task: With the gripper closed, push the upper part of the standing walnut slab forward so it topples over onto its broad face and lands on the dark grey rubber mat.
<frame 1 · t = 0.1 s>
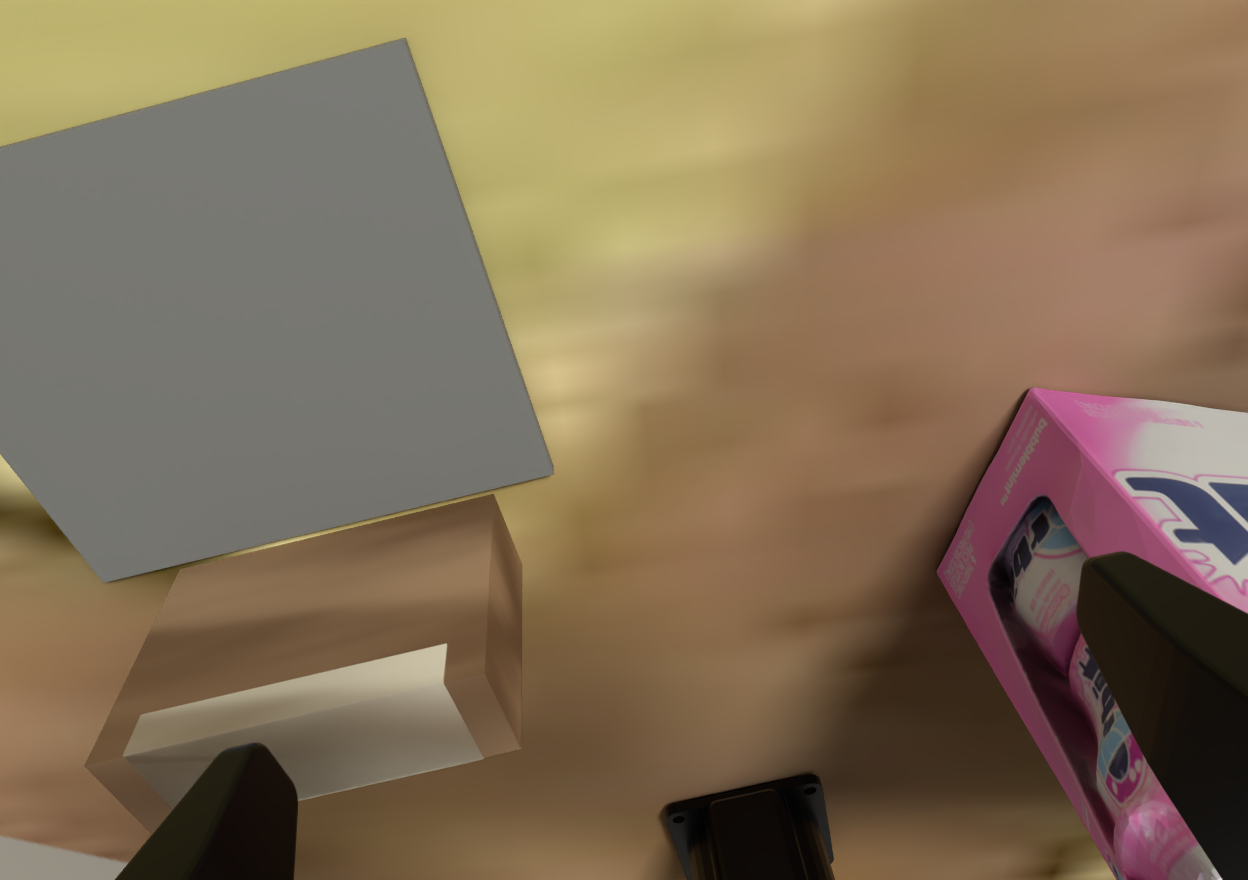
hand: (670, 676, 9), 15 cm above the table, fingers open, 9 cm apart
mat: (232, 350, 22), on the table
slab: (355, 565, 27), on the table
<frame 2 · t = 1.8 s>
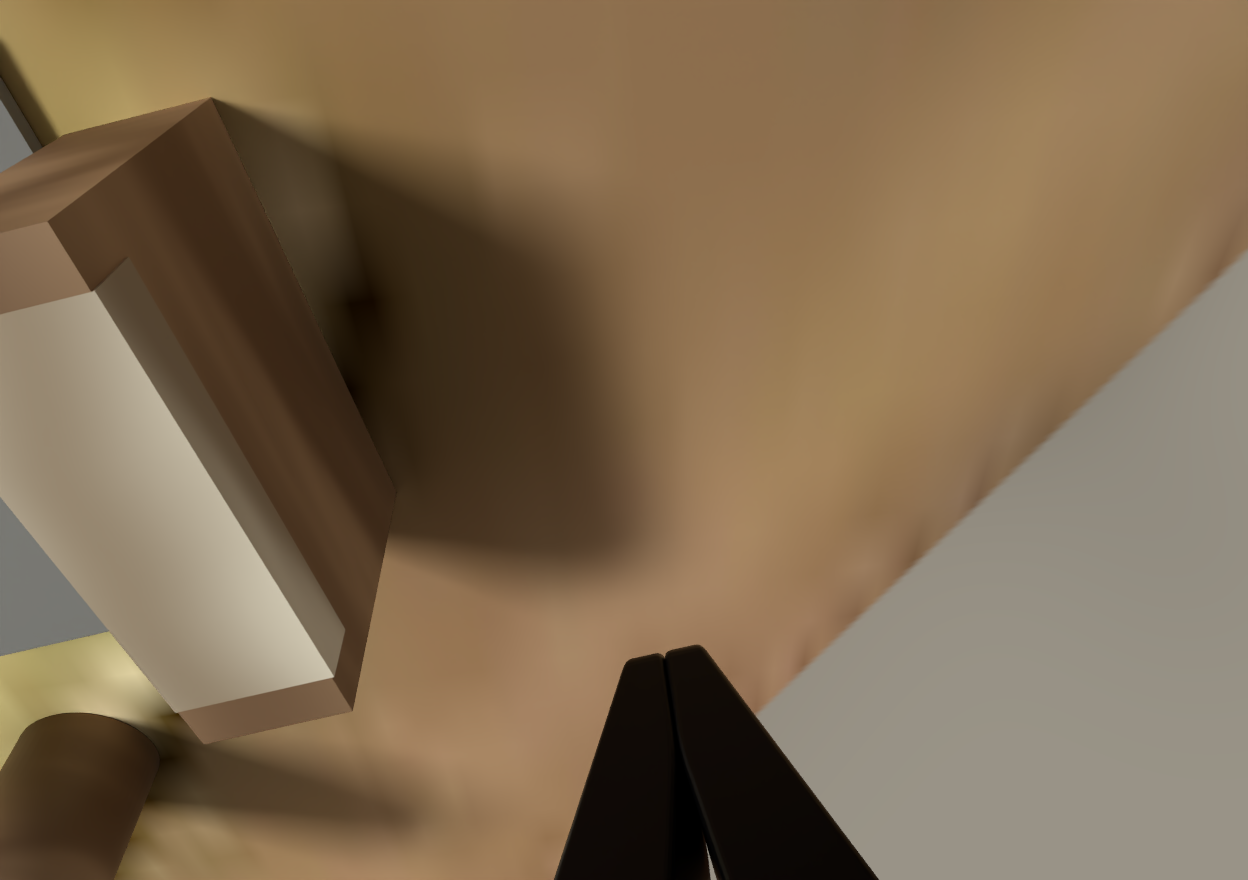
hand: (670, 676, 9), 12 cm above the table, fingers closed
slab: (254, 337, 20), on the table
pepper mill: (90, 755, 27), on the table
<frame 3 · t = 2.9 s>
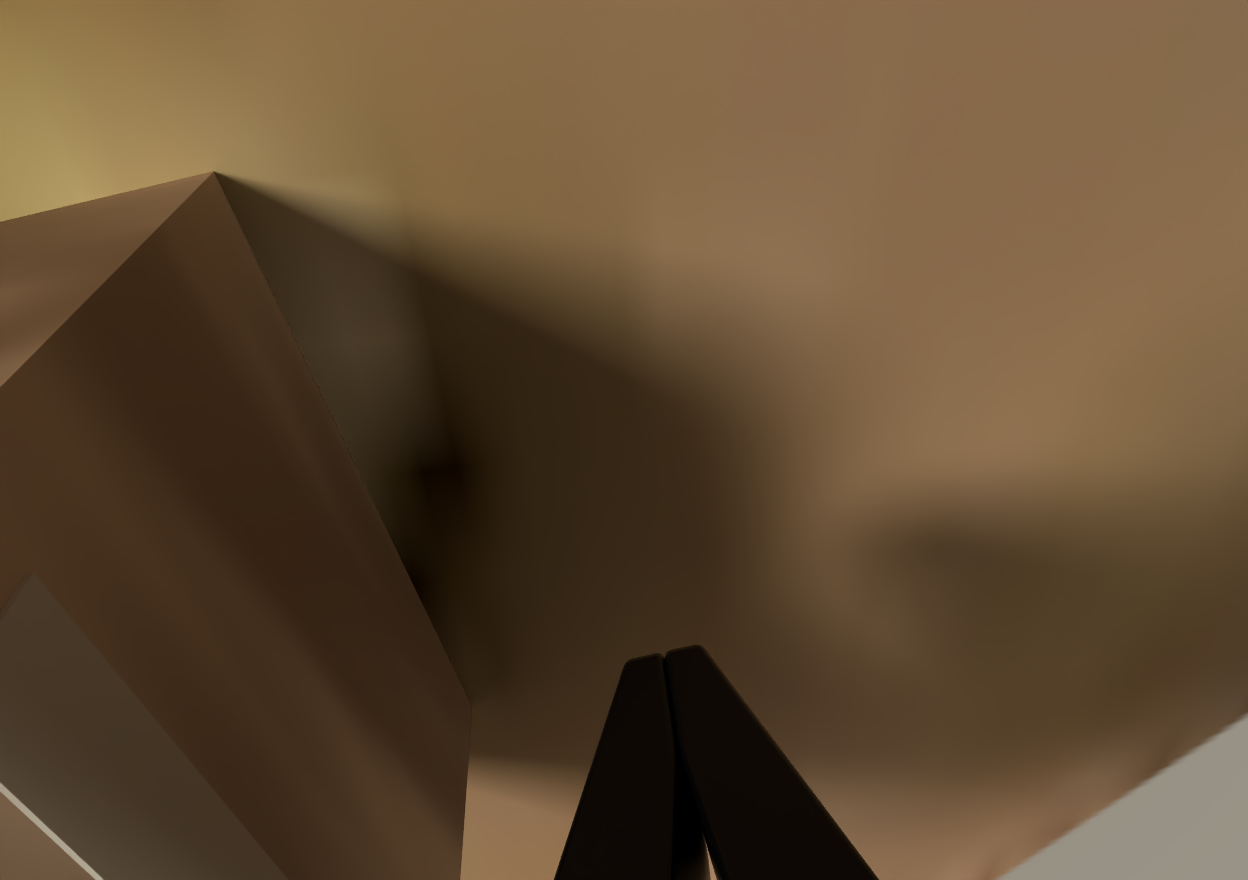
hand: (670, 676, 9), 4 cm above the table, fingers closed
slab: (276, 517, 13), on the table
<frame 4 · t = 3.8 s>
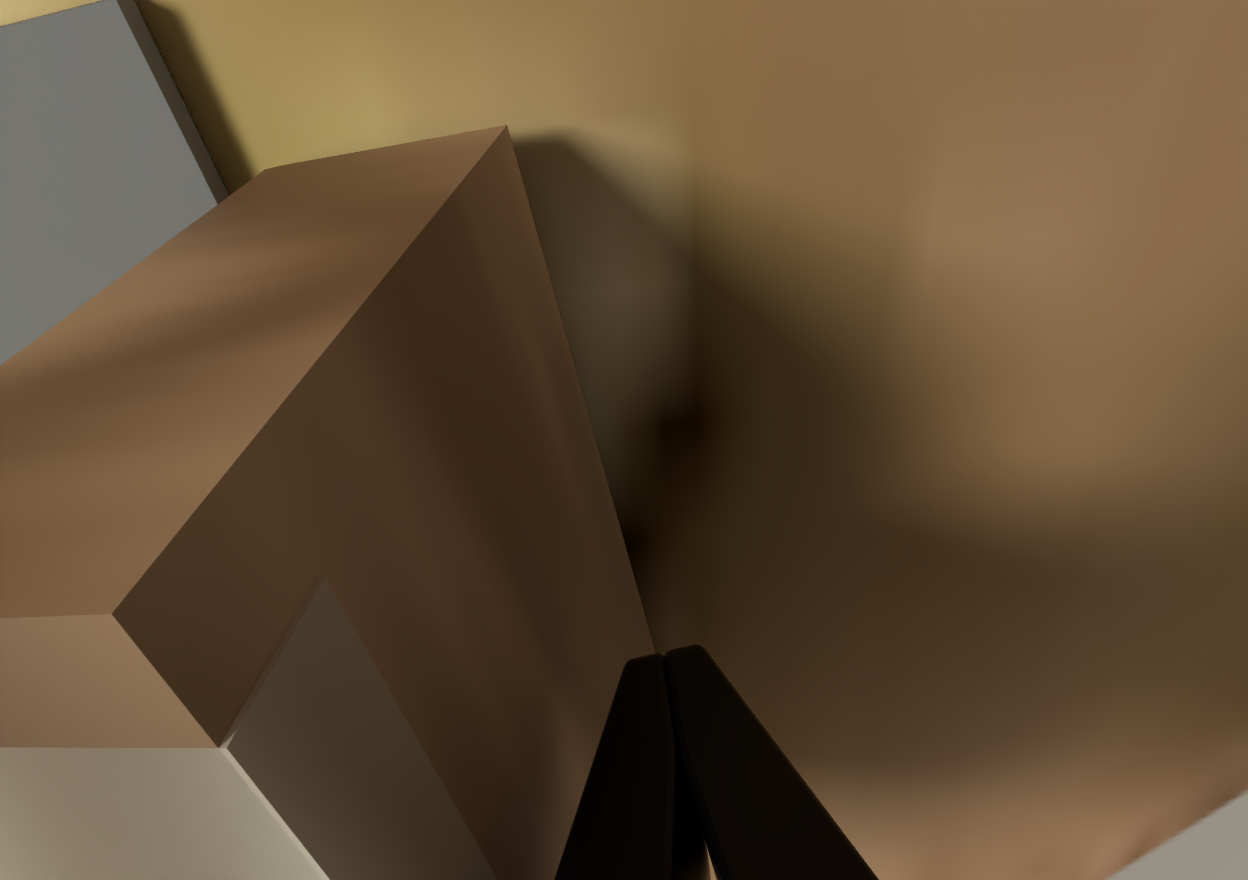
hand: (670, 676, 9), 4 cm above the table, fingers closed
mat: (0, 591, 13), on the table
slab: (507, 487, 13), on the table, tilted 14°
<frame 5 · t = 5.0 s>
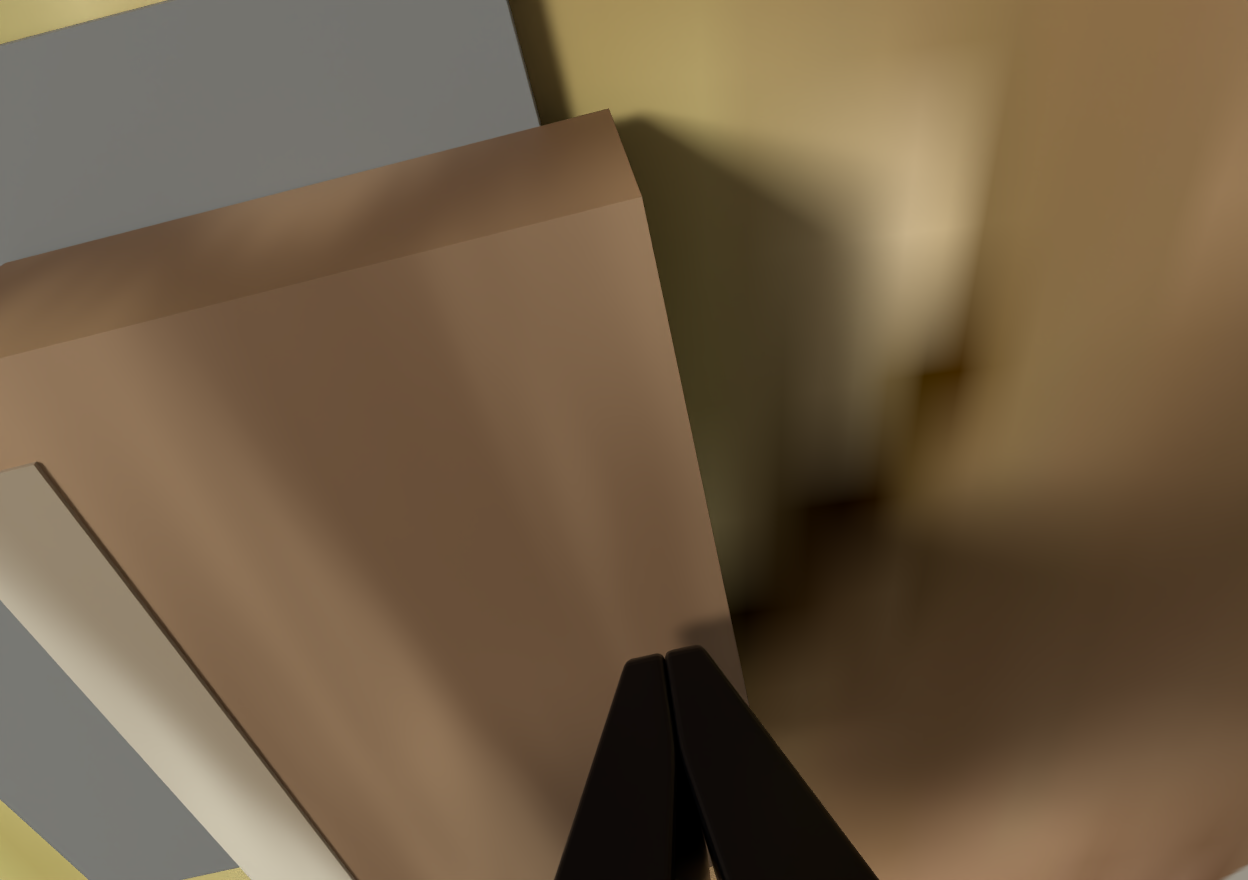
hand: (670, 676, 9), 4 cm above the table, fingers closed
mat: (239, 553, 13), on the table
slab: (706, 533, 11), point 2 cm above the table, tilted 89°, touching mat
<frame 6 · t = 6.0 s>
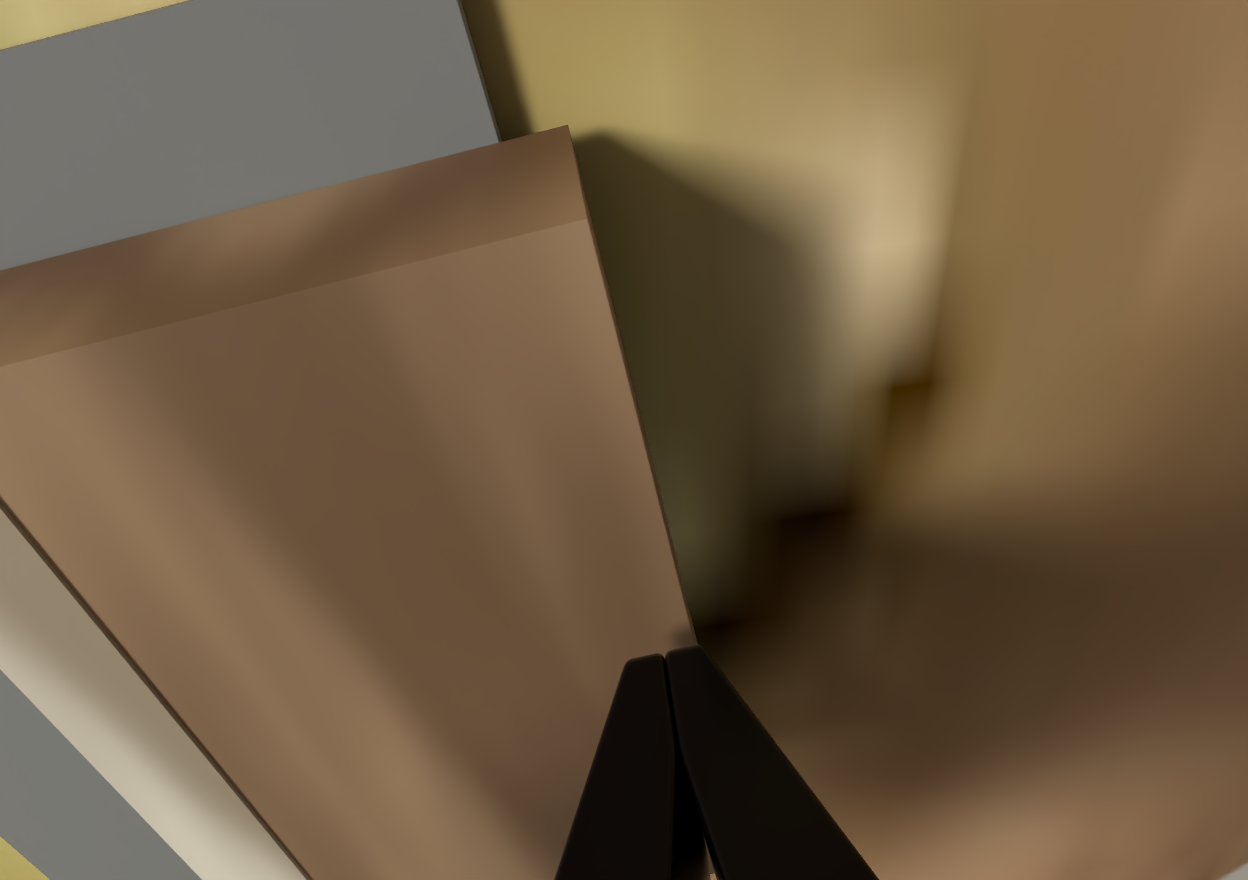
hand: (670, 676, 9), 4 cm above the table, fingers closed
mat: (209, 566, 13), on the table
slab: (672, 548, 11), point 2 cm above the table, tilted 89°, touching mat
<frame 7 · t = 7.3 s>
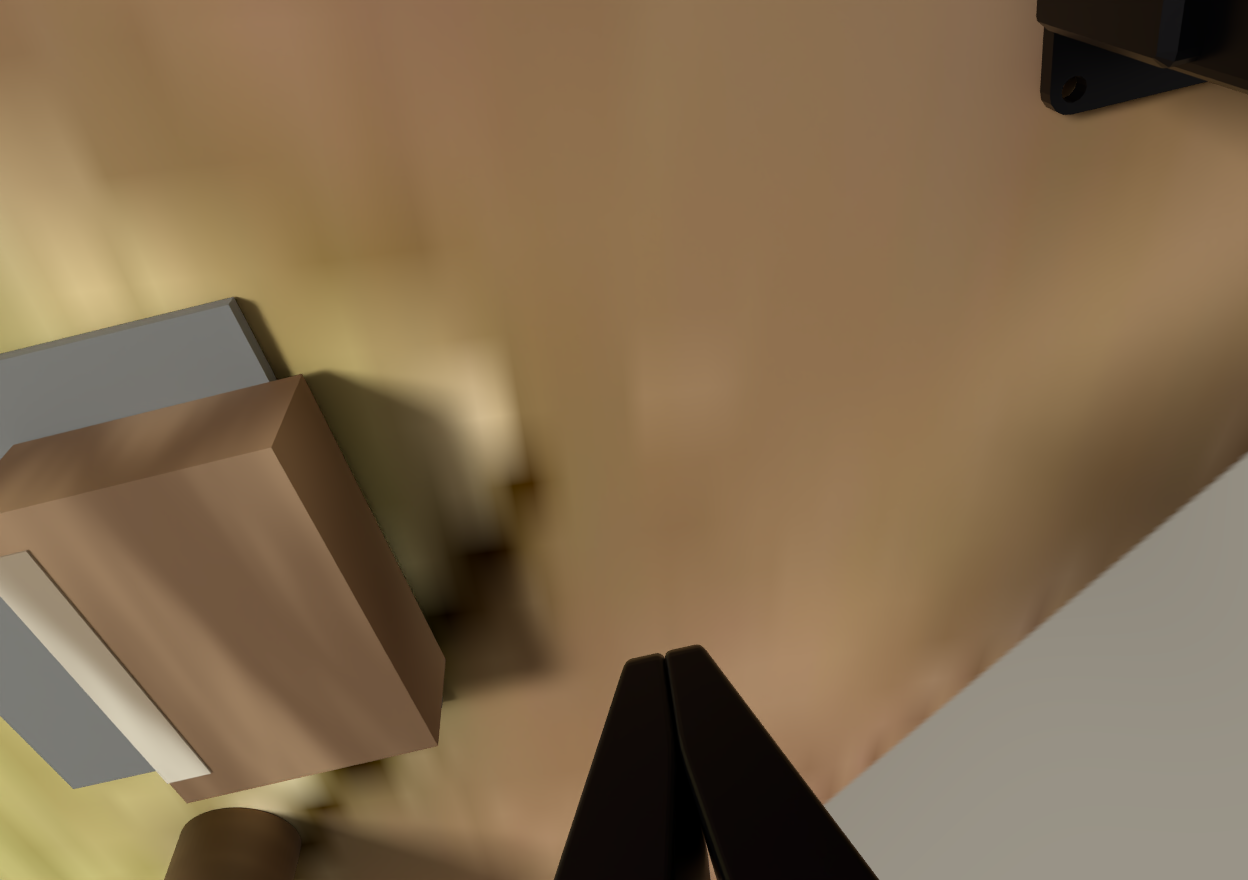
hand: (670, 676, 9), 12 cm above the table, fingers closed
mat: (142, 581, 23), on the table
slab: (375, 573, 21), point 2 cm above the table, tilted 89°, touching mat
pepper mill: (241, 842, 30), on the table
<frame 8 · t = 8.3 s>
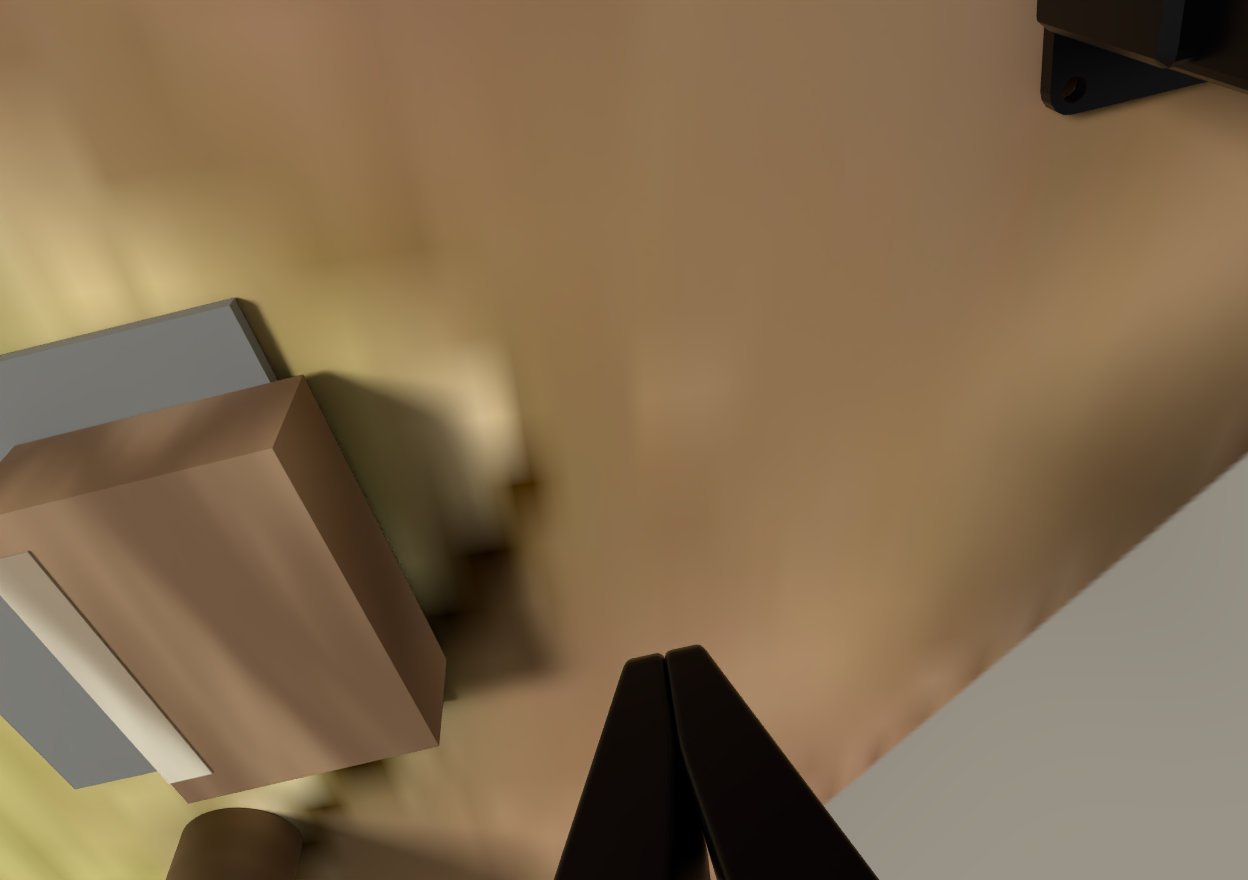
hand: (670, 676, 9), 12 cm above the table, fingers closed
mat: (143, 581, 23), on the table
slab: (375, 574, 21), point 2 cm above the table, tilted 89°, touching mat
pepper mill: (242, 842, 30), on the table
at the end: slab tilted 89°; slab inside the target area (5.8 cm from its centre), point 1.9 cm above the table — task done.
